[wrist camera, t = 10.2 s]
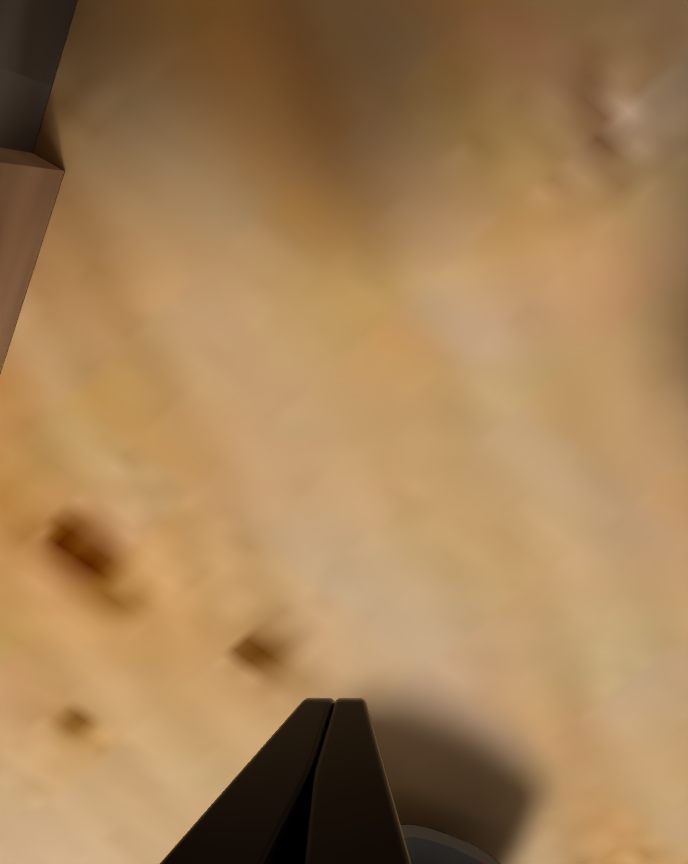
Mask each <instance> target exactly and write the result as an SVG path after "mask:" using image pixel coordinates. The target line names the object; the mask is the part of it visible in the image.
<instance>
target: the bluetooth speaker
mask: <svg viewBox="0 0 688 864" xmlns="http://www.w3.org/2000/svg"><path fill="white" fill-rule="evenodd" d="M401 829H402V832H403V836H404V840H405V843H406V847H407V850H408V854H409V857H410V861H411V864H500V863H498V862H497V861H496V860H495V859H494V858H492V857H491V856H490V855H489V854H487V853H485V852H484V851H482V850H480V849H479V848H477V847H475V846H473V845H471V844H469V843H467V842H464V841H462V840H460V839H457V838H455V837H453V836H451V835H448V834H445V833H443V832H440V831H436V830H433V829H430V828H426V827H422V826H417V825H407V824H405V825H401Z"/></svg>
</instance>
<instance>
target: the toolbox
mask: <svg viewBox="0 0 688 864" xmlns="http://www.w3.org/2000/svg"><path fill="white" fill-rule="evenodd" d="M76 3H77V0H0V372H1V369H2V366H3V363H4V360H5V357H6V354H7V350H8V347H9V344H10V341H11V338H12V335H13V332H14V328H15V325H16V322H17V319H18V316H19V313H20V310H21V306H22V303H23V300H24V297H25V294H26V291H27V288H28V285H29V281H30V278H31V275H32V272H33V269H34V266H35V263H36V259H37V256H38V253H39V250H40V247H41V244H42V241H43V237H44V234H45V231H46V228H47V225H48V222H49V219H50V215H51V212H52V209H53V206H54V203H55V200H56V197H57V194H58V190H59V187H60V184H61V181H62V178H63V175H64V172H65V171H63V170H62V169H60V168H58V167H56V166H55V165H53V164H51V163H49V162H47V161H46V160H44V159H42V158H40V157H39V156H37V155H35V154H33V153H32V152H33V148H34V145H35V142H36V138H37V135H38V132H39V128H40V125H41V121H42V118H43V115H44V111H45V108H46V105H47V101H48V98H49V94H50V91H51V88H52V84H53V81H54V77H55V74H56V71H57V67H58V64H59V61H60V57H61V54H62V50H63V47H64V44H65V40H66V37H67V34H68V30H69V27H70V23H71V20H72V17H73V13H74V10H75V6H76Z"/></svg>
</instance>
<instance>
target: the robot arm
mask: <svg viewBox="0 0 688 864" xmlns="http://www.w3.org/2000/svg"><path fill="white" fill-rule="evenodd" d="M160 864H411V861H410V857H409V854H408V850H407V847H406V843H405V840H404V836H403V832H402V829H401V825H400V822H399V818H398V815H397V811H396V807H395V804H394V800H393V797H392V793H391V790H390V786H389V783H388V779H387V775H386V772H385V768H384V765H383V761H382V758H381V754H380V750H379V747H378V743H377V740H376V736H375V733H374V729H373V725H372V722H371V718H370V715H369V711H368V708H367V704H366V702H365V700H364V699H361V698H339V699H337V700H336V701H334V700H333V699H331V698H307V699H305V700H304V701H303V702H302V703H301V704H300V705H299V706H298V707H297V708H296V709H295V710H294V712H293V713H292V714H291V715H290V716H289V717H288V718H287V720H286V721H285V722H284V723H283V724H282V725H281V726H280V728H279V729H278V730H277V731H276V732H275V733H274V734H273V736H272V737H271V738H270V739H269V740H268V741H267V742H266V743H265V745H264V746H263V747H262V748H261V749H260V750H259V751H258V753H257V754H256V755H255V756H254V757H253V758H252V759H251V761H250V762H249V763H248V764H247V765H246V766H245V767H244V769H243V770H242V771H241V772H240V773H239V774H238V775H237V776H236V778H235V779H234V780H233V781H232V782H231V783H230V784H229V786H228V787H227V788H226V789H225V790H224V791H223V792H222V794H221V795H220V796H219V797H218V798H217V799H216V800H215V802H214V803H213V804H212V805H211V806H210V807H209V808H208V809H207V811H206V812H205V813H204V814H203V815H202V816H201V817H200V819H199V820H198V821H197V822H196V823H195V824H194V825H193V827H192V828H191V829H190V830H189V831H188V832H187V833H186V835H185V836H184V837H183V838H182V839H181V840H180V841H179V842H178V844H177V845H176V846H175V847H174V848H173V849H172V850H171V852H170V853H169V854H168V855H167V856H166V857H165V858H164V860H163V861H162V862H161V863H160Z"/></svg>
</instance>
